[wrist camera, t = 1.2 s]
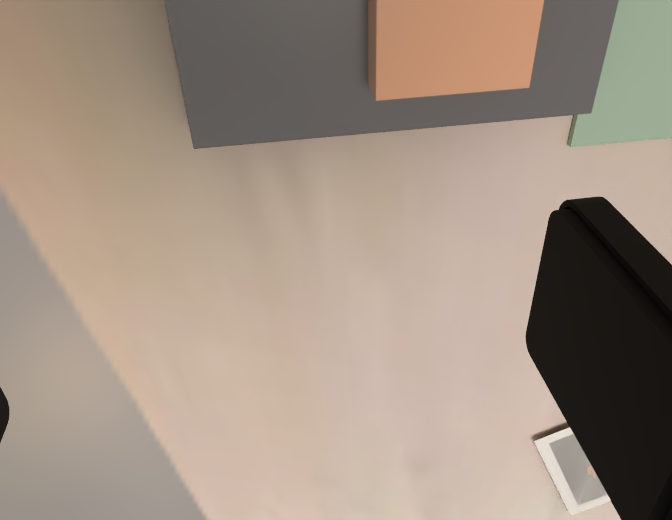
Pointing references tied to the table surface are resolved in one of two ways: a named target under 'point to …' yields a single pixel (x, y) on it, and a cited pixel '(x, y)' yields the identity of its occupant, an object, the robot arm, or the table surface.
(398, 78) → the terracotta tile
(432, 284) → the table surface
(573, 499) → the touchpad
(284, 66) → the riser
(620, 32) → the mat
